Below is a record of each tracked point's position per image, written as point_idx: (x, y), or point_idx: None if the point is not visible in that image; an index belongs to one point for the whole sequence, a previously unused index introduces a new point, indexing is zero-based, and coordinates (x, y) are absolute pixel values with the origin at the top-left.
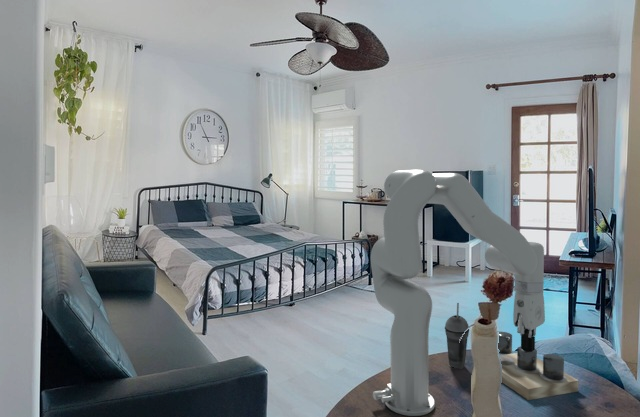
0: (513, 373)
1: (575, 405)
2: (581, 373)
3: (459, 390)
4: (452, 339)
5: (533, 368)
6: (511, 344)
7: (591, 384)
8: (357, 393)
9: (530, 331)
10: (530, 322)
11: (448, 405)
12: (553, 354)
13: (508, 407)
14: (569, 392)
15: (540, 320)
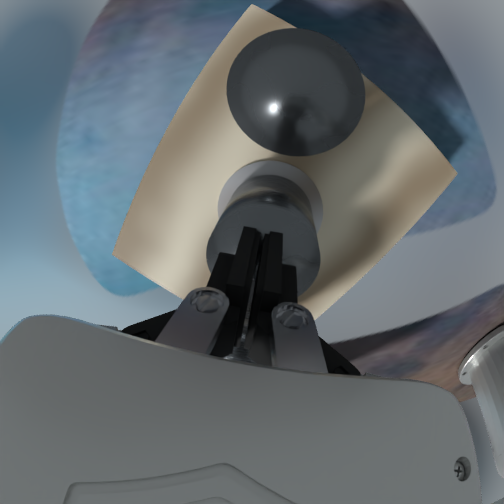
0: (354, 244)
1: (384, 20)
2: (96, 64)
3: (438, 321)
4: None
5: (295, 185)
6: (242, 333)
7: (163, 7)
8: (467, 397)
9: (305, 359)
10: (474, 467)
11: (496, 311)
12: (228, 104)
13: (487, 207)
14: None
15: (133, 415)
